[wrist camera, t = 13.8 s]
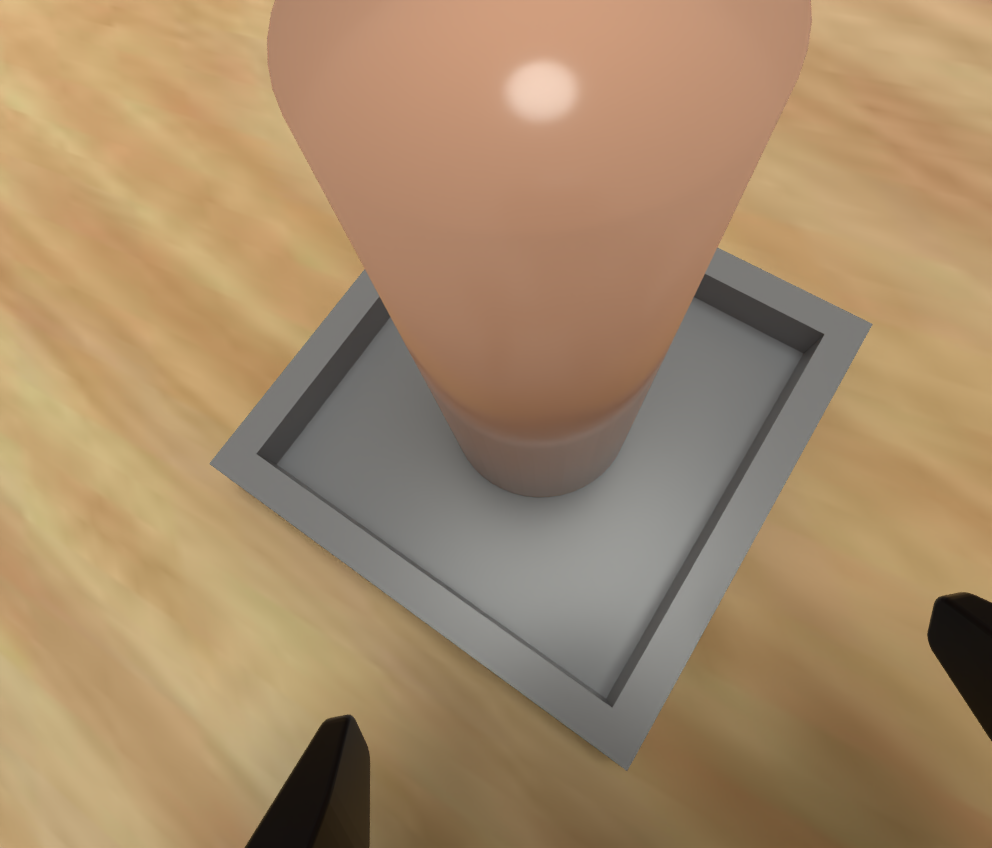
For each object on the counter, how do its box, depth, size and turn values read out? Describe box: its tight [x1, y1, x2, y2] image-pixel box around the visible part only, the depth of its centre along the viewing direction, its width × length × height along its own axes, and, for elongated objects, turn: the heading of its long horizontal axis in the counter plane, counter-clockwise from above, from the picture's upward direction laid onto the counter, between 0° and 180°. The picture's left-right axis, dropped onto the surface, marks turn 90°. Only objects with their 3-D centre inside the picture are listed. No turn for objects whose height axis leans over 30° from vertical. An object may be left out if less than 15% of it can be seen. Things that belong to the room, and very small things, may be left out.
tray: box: [210, 248, 872, 771], centre depth 18 cm, size 14×14×2 cm
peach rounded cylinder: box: [267, 0, 812, 497], centre depth 12 cm, size 6×6×13 cm
